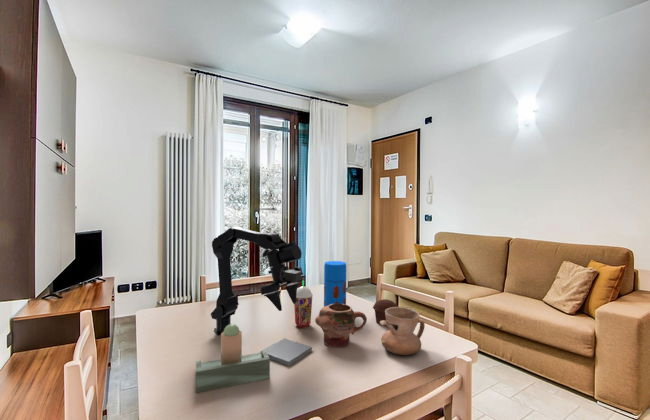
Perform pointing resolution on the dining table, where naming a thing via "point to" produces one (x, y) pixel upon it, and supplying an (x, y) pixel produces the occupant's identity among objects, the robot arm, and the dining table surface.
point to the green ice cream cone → (231, 345)
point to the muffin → (382, 309)
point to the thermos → (334, 282)
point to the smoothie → (303, 306)
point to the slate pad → (287, 351)
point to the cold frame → (232, 372)
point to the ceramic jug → (402, 331)
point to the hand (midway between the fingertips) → (287, 306)
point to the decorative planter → (338, 323)
